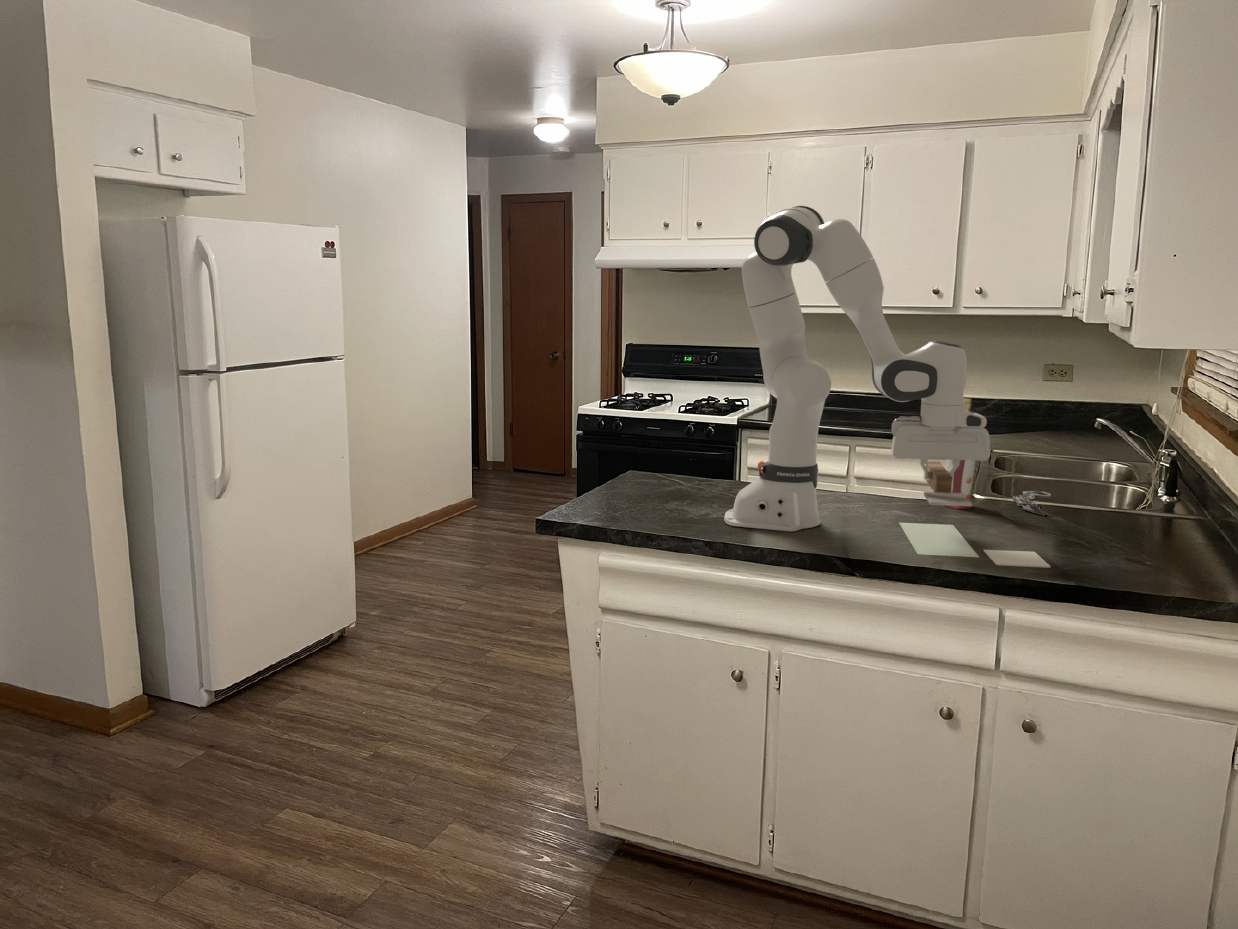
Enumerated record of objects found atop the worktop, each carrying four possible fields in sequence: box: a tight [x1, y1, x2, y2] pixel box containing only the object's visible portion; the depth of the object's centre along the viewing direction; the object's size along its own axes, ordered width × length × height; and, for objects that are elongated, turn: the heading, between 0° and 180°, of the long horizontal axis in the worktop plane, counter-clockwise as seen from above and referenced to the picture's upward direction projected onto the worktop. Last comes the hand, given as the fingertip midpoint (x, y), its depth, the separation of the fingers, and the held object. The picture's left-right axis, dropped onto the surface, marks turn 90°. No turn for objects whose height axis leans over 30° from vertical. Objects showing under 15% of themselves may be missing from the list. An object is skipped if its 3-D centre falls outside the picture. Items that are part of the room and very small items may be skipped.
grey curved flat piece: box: [1012, 490, 1052, 516], centre depth 232 cm, size 28×2×10 cm
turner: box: [923, 461, 973, 507], centre depth 192 cm, size 22×8×4 cm, turn 171°
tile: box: [983, 549, 1051, 569], centre depth 180 cm, size 10×2×10 cm
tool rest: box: [898, 522, 980, 558], centre depth 194 cm, size 12×26×1 cm, turn 171°
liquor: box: [943, 397, 977, 510], centre depth 222 cm, size 7×7×28 cm
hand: (938, 479), depth 196 cm, fingers closed on turner, 3 cm apart
